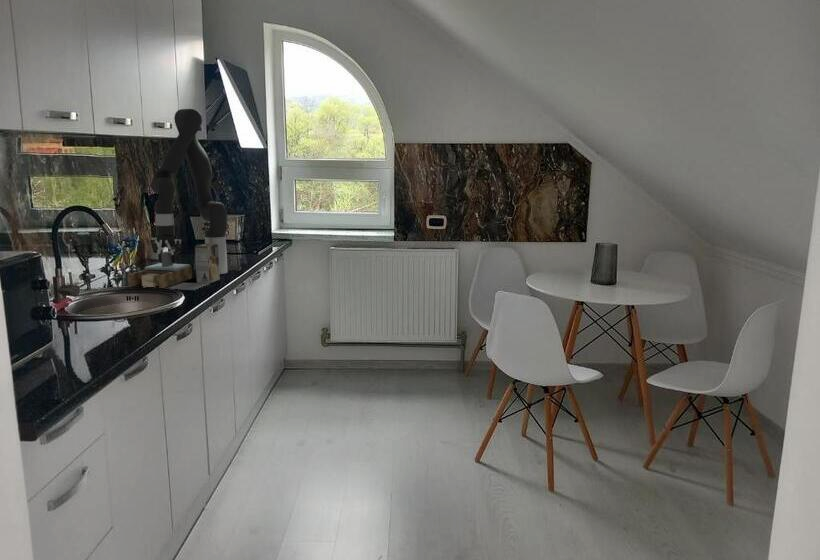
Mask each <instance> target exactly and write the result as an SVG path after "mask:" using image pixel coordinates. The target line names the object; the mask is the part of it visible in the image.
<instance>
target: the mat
mask: <svg viewBox="0 0 820 560" xmlns="http://www.w3.org/2000/svg"><path fill="white" fill-rule="evenodd" d="M206 285H207V286H210V283H197V282H181V283H178V284H175V285H172V286H169V287H168V288H170V289H169V290H175V289H178V291H181V290H182V291H197V290H200V289H202V288H204V287H203V286H205V287H207V286H206ZM201 287H202V288H201ZM199 288H200V289H199ZM196 289H197V290H196Z"/></svg>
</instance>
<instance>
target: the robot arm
mask: <svg viewBox="0 0 820 560" xmlns="http://www.w3.org/2000/svg"><path fill="white" fill-rule="evenodd" d="M173 119H174V124H175V127H176V129H177V133H178V135H177V137H176V138H175V140H174V141H173V143H172V144H171V145H170V146H169V147H168V149H167V151H166V153H165V155H164V157H163V160H162V163H161V165H160V167H159V168H158V169H157V171H156V173H155V174H154V175H153V178H152V180H151V182H150V187H151V190H152V191H153V192H154V193H155V194H158V199H157V200H156V201H155V202H154V207H155V209H154V210H155V211H154V212H155V223H154V224H155V233H156V238H152V239H150V241H149V242H150V245H151V248H152V253H154V254H157V259H158V263H162V258H161V253H162V252H164V251H165V250H164V249H165V248H167V249H168V250H169V252H171V254H172V255H171V261H172V263H173V264H177V263H176V262H177V255H178V254H180V253H181V251H182V245H183V244H182V243H183V241H182V239H177V238H176V236H175V235H176V231H175V230H176V229H175V216H174V211H173V210H174V208H173V207H174V206H173V202H174V196H175V184H174V181H173V180H172V178H173V177H174V176H175V175H177V173H178V172H179V170H180V167H181V164H182V162H183V159H184V157H185V156H186V159H187V164H188V167H189V172H190V174H191V178H192V181H193V185H194V189H195V193H196V198H197V204H198V210H199V214H200V217H201V218H202V219H203V220H204V221H207V222H209V227H208V229H206V230H204V244H218V256H219V273H220V275H223V274H228V272H229V271H228V254H227V253H228V252H227V239H226V237H227V236H226V234H227V229H228V212H227V211H228V210H227V208H226V205H225V204H224V203H222V202H220V201H214V199H213V196H212V191H211V190H212V189H211V185H212V180H213V169H212V165H211V162H210V158H209V156H208V154H207V152H206V151H205V149H204V147H202V145H201V143H200V141H199V139H198V137H197V133H198V131H199V129H200V128H201V126H202V123H203V117H202V114H201V112H200V111H199V110H197V109H195V108H181V109H178V110H176V112H175V113H174V117H173Z"/></svg>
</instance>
